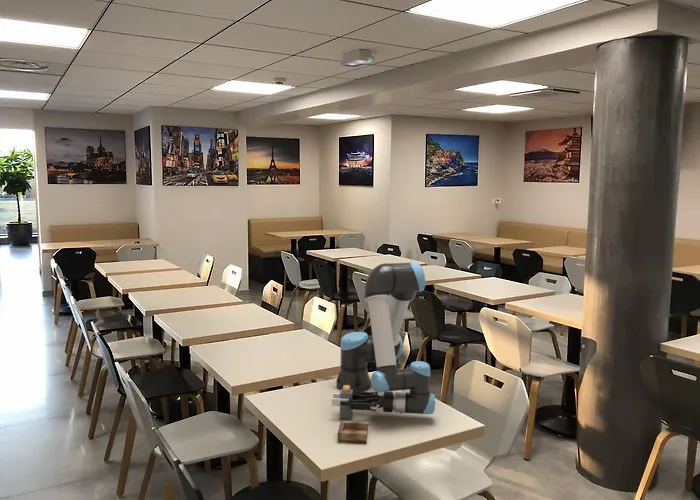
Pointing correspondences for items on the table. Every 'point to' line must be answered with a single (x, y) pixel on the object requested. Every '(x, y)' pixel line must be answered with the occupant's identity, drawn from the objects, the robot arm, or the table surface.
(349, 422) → the holder
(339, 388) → the robot arm
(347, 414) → the connector plug
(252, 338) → the table surface
